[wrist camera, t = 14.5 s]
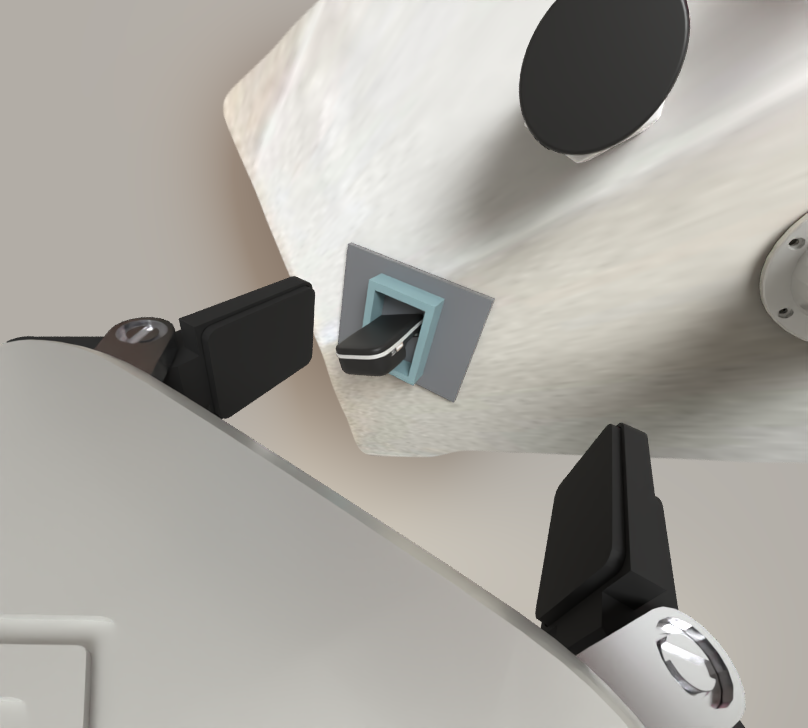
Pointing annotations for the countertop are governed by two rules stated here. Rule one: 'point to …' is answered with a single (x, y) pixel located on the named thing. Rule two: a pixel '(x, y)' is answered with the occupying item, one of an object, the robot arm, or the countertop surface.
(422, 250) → the countertop surface
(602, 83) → the jar
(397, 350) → the black hard case
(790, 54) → the countertop surface
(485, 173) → the countertop surface
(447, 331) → the charging dock
